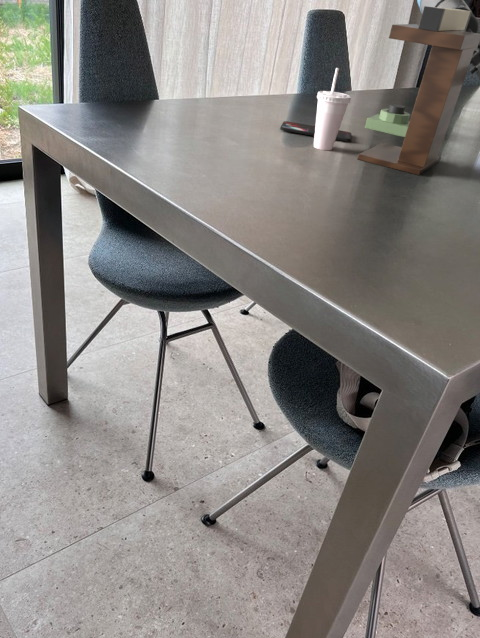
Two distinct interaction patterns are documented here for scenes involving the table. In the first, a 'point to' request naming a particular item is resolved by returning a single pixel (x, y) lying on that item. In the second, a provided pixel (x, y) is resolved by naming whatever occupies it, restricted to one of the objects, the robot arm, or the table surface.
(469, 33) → the shelf
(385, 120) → the switch box
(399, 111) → the button
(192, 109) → the table surface
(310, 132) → the smartphone
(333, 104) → the smoothie
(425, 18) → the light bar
